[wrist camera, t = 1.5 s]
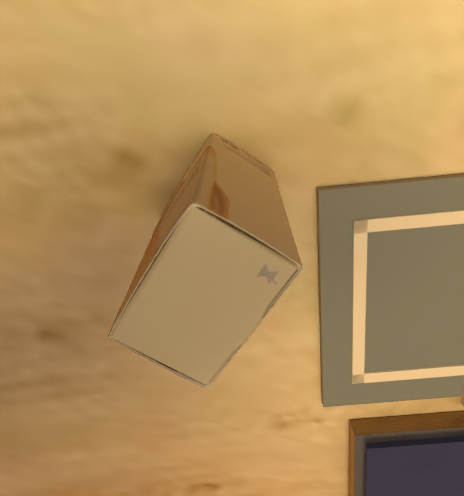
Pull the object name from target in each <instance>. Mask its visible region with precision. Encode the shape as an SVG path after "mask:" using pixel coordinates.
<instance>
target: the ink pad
mask: <svg viewBox="0 0 464 496" xmlns="http://www.w3.org/2000/svg"><path fill="white" fill-rule="evenodd" d="M349 496H464V411H457V412H444V413H431V414H418V415H405V416H392V417H379V418H366V419H354V420H349Z"/></svg>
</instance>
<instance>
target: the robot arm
mask: <svg viewBox="0 0 464 496" xmlns="http://www.w3.org/2000/svg"><path fill="white" fill-rule="evenodd" d="M460 402H461V404H462V405H463V407H464V379H463V386H462V394H461V401H460Z"/></svg>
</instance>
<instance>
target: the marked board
mask: <svg viewBox="0 0 464 496" xmlns="http://www.w3.org/2000/svg"><path fill="white" fill-rule="evenodd" d="M317 225H318V266H319V308H320V349H321V391H322V404H323V407H330V406H343V405H356V404H368V403H381V402H394V401H406V400H419V399H432V398H444V397H457V396H461V394H462V386H463V379H464V173H463V174H453V175H442V176H432V177H422V178H412V179H401V180H391V181H381V182H370V183H360V184H350V185H339V186H329V187H319V188H317Z"/></svg>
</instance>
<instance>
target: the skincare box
mask: <svg viewBox="0 0 464 496" xmlns="http://www.w3.org/2000/svg"><path fill="white" fill-rule="evenodd" d="M301 269H302V264H301V261H300V258H299V255H298V251H297V248H296V245H295V242H294V238H293V235H292V232H291V229H290V225H289V222H288V219H287V216H286V212H285V209H284V206H283V202H282V199H281V196H280V193H279V190H278V186H277V183H276V180H275V177H274V173H273V172H272V171H271V170H270V169H268V168H267V167H266V166H264V165H263V164H261V163H260V162H258V161H257V160H255V159H254V158H252V157H251V156H250V155H248V154H247V153H245V152H244V151H242V150H241V149H239V148H237V147H236V146H234V145H233V144H231V143H229V142H228V141H226V140H224V139H223V138H221V137H219V136H218V135H216V134H211V135H210V137H209V138H208V140H207V141H206V143H205V144H204V146H203V147H202V149H201V150H200V152H199V153H198V155H197V156H196V158H195V159H194V161H193V162H192V164H191V166H190V167H189V169H188V170H187V172H186V174H185V175H184V177H183V178H182V180H181V182H180V183H179V185H178V187H177V189H176V191H175V192H174V194H173V196H172V198H171V199H170V201H169V203H168V205H167V207H166V208H165V210H164V212H163V214H162V215H161V217H160V220H159V222H158V224H157V226H156V228H155V231H154V233H153V236H152V238H151V240H150V243H149V245H148V247H147V249H146V252H145V254H144V256H143V259H142V261H141V263H140V265H139V267H138V270H137V272H136V274H135V276H134V279H133V281H132V283H131V285H130V288H129V290H128V292H127V295H126V297H125V299H124V301H123V303H122V306H121V308H120V310H119V312H118V314H117V317H116V319H115V321H114V324H113V326H112V328H111V330H110V332H109V335H108V336H109V338H110V339H111V340H113V341H115V342H117V343H119V344H121V345H123V346H125V347H126V348H128V349H130V350H132V351H133V352H135V353H137V354H139V355H141V356H143V357H145V358H147V359H148V360H150V361H152V362H154V363H156V364H158V365H160V366H162V367H164V368H166V369H168V370H169V371H171V372H173V373H175V374H177V375H179V376H181V377H183V378H185V379H187V380H189V381H191V382H193V383H195V384H196V385H198V386H200V387H208V386H210V385H211V384H212V382H213V381H214V380H215V379H216V377H217V376H218V375H219V374H220V372H221V371H222V370H223V369H224V368H225V366H226V365H227V364H228V362H229V361H230V360H231V359H232V357H233V356H234V355H235V354H236V352H237V351H238V350H239V349H240V347H241V346H242V345H243V344H244V343H245V342H246V340H247V339H248V338H249V337H250V336H251V334H252V333H253V332H254V331H255V329H256V328H257V326H258V325H259V324H260V322H261V321H262V319H263V318H264V317H265V315H266V314H267V313H268V312H269V310H270V309H271V308H272V307H273V305H274V304H275V303H276V302H277V300H278V299H279V298H280V296H281V295H282V294H283V293H284V291H285V290H286V289H287V288H288V286H289V285H290V284H291V282H292V281H293V280H294V278H295V277H296V276H297V275H298V274H299V273H300V271H301Z"/></svg>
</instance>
